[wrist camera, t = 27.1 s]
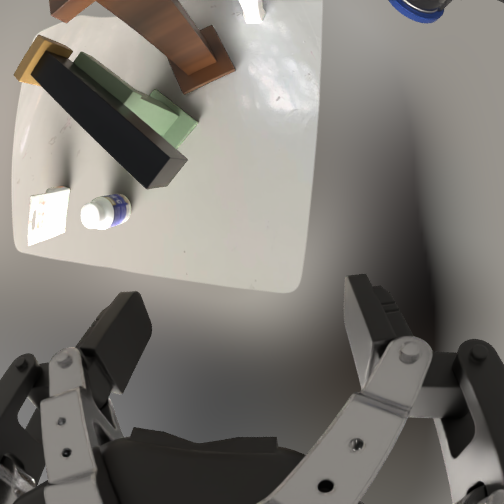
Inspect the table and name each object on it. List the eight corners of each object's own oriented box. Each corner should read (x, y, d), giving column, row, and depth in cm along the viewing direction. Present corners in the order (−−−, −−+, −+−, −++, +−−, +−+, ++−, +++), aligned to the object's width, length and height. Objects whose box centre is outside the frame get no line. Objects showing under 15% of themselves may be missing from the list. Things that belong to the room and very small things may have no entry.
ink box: (57, 229, 50) (18, 242, 39) (62, 185, 48) (22, 191, 37) (66, 233, 50) (27, 247, 39) (72, 188, 48) (31, 195, 37)
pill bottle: (133, 195, 47) (104, 201, 38) (130, 225, 48) (102, 236, 40) (109, 191, 47) (78, 196, 38) (106, 220, 48) (76, 229, 40)
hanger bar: (196, 150, 23) (173, 145, 18) (160, 195, 24) (132, 201, 20) (66, 45, 21) (38, 34, 16) (42, 81, 23) (13, 75, 18)
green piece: (198, 123, 42) (133, 91, 22) (174, 152, 44) (97, 142, 24) (157, 90, 41) (80, 51, 21) (135, 117, 43) (50, 96, 23)
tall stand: (238, 75, 40) (156, -56, 9) (186, 100, 42) (45, 20, 11) (211, 23, 37) (126, -101, 7) (164, 46, 39) (42, -46, 8)
